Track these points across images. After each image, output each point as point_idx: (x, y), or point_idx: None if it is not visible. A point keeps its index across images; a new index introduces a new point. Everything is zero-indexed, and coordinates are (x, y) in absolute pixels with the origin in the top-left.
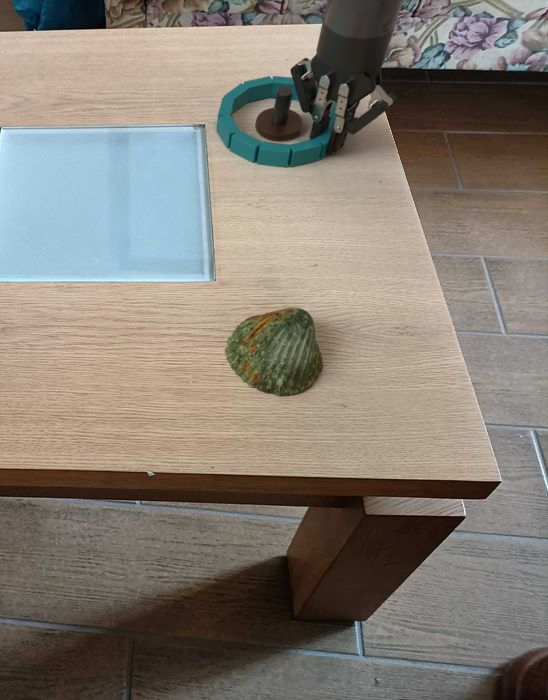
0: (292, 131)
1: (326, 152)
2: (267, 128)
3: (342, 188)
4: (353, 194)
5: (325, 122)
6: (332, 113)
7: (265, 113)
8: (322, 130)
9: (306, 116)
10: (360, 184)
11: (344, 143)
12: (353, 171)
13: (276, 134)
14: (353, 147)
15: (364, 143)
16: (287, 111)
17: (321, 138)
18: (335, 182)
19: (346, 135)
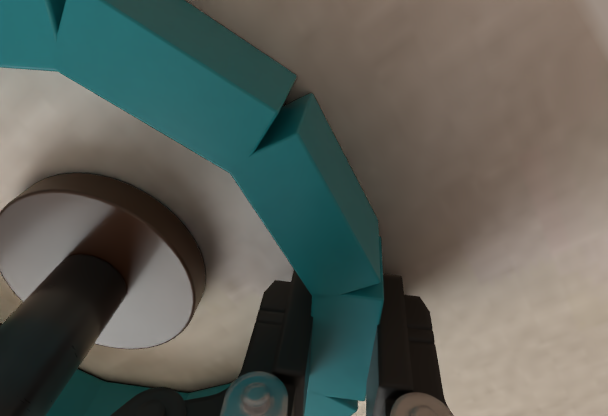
0: (184, 310)
1: None
2: (103, 334)
3: (502, 405)
4: (549, 413)
5: (303, 404)
6: (257, 211)
7: (15, 267)
8: (308, 373)
9: (131, 128)
10: (561, 373)
11: (430, 324)
12: (511, 332)
13: (154, 345)
14: (455, 213)
15: (497, 159)
16: (89, 345)
17: (330, 382)
18: (467, 393)
19: (435, 367)
